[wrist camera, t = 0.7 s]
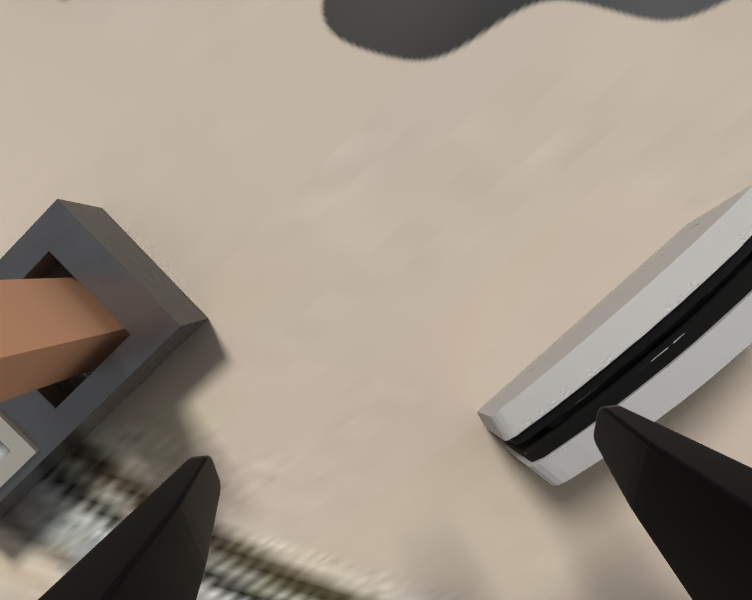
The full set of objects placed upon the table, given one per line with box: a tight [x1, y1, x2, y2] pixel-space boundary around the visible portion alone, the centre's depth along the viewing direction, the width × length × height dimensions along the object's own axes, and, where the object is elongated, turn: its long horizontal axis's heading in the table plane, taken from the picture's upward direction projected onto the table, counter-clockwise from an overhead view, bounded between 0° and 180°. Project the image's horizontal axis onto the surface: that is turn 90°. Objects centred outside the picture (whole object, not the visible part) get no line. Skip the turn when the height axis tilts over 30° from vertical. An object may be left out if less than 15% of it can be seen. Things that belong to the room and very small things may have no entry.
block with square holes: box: [0, 199, 208, 519], centre depth 22 cm, size 20×9×3 cm, turn 133°
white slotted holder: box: [477, 186, 752, 485], centre depth 18 cm, size 17×5×10 cm, turn 134°
